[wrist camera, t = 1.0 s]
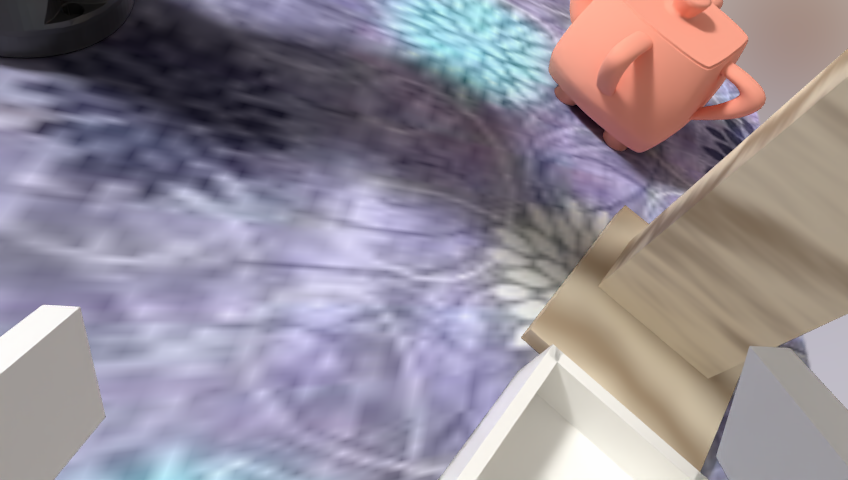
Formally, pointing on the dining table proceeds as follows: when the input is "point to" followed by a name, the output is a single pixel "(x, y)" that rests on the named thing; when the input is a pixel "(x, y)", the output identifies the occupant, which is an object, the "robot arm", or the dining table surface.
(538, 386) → the tray
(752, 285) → the wooden pedestal stand
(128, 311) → the dining table surface
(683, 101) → the teapot
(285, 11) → the dining table surface
